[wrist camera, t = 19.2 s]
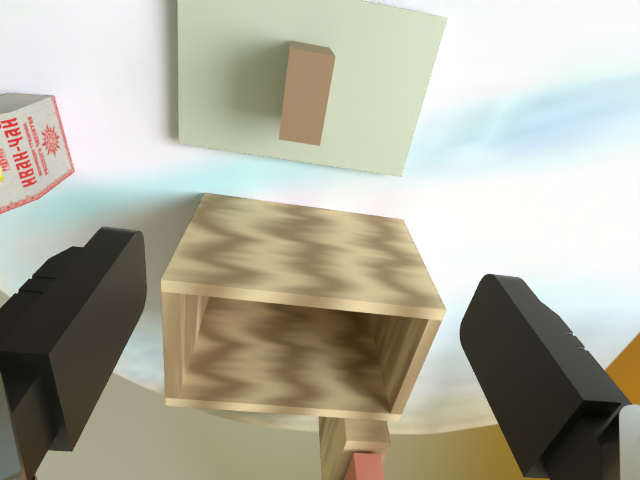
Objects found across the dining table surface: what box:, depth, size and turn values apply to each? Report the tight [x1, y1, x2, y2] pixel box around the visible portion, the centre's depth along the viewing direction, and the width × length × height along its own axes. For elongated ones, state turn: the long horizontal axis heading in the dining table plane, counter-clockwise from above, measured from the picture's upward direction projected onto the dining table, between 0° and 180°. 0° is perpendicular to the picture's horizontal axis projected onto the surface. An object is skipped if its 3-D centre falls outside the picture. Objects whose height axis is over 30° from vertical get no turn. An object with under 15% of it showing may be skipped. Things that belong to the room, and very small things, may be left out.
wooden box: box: [161, 193, 446, 480], centre depth 40 cm, size 20×26×15 cm
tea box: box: [0, 93, 74, 214], centre depth 31 cm, size 4×7×10 cm, turn 176°
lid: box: [177, 0, 447, 177], centre depth 30 cm, size 20×13×8 cm, turn 80°
